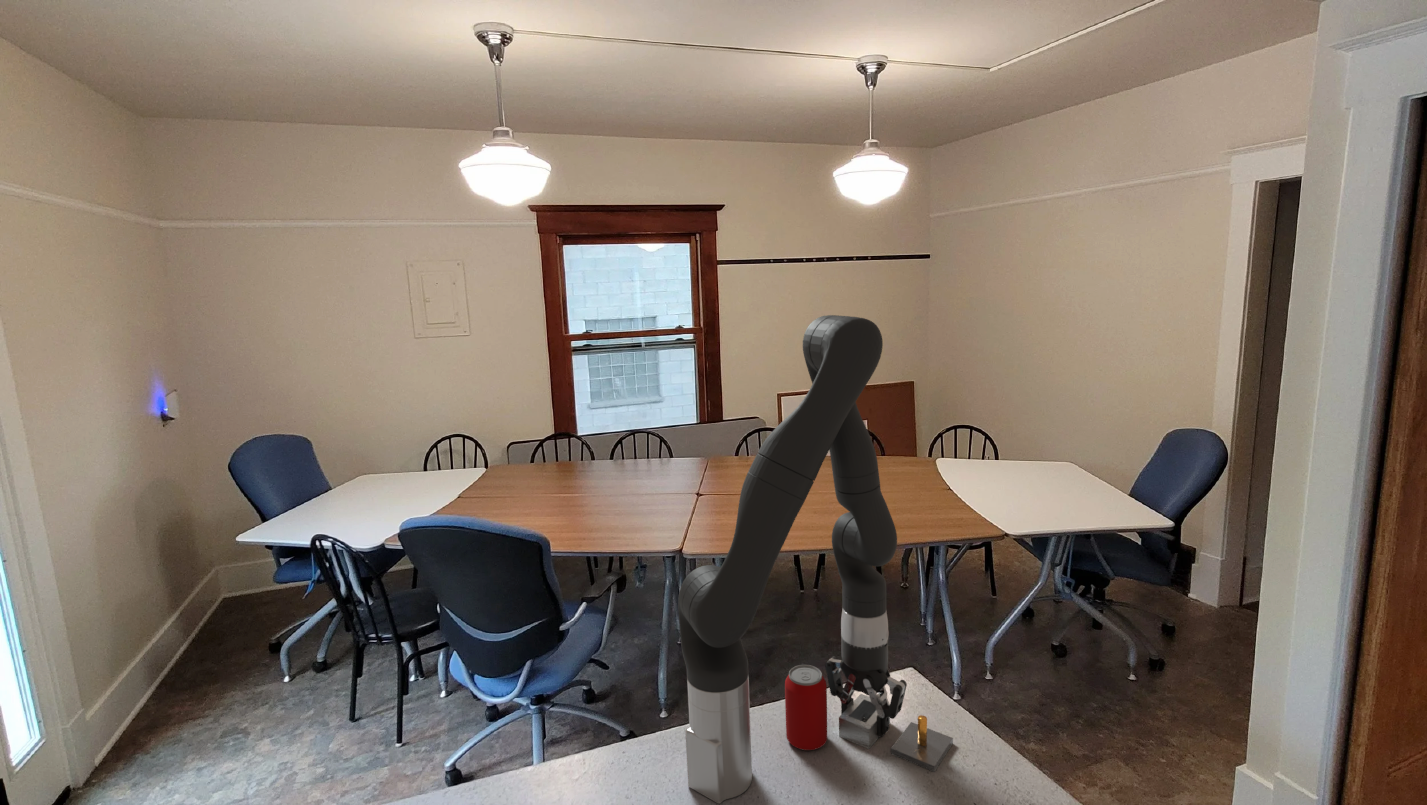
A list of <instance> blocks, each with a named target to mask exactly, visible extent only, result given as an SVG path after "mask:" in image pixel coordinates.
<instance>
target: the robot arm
mask: <svg viewBox="0 0 1427 805" xmlns="http://www.w3.org/2000/svg"><path fill="white" fill-rule="evenodd" d="M883 344H884V343H883V335H882V333H881V330H880V328H879V327H878V326H877V324H876V323H875V322H874V321H872V320H870V319H868V318H864V317H860V316H859V317H857V316H851V315H850V316H849V315H836V314H835V315H834V314H828V315H822V316H819V317H817V318H815V319H814V320H812V322H811V323H810V324H809V325H808V326H807V328H806V330H805V332H804V335H803V338H802V352H803V358H804V362H805V365H806V369H807V371H808V374H809V377H810V380H811V383H812V384H811V386H810V388H809V390H808V392H807V393H806V395H805V397H804V398H803V399H802V400H801V402H800V403H799V405H798V406H797V407H796V408H794V410H793V411H792V412H790V414H789V415H788V416H787V417H786V418H785V419H784V420H782V421H781V422H780V423H779V424H778V425H777V426H776V427H775V428H774V429H773V430H772V432H771V433H770V434H769V435H767V437H766V438H765V440H764V441H763V443H762V444H761V446H760V447H759V450H758V451H757V453H756V455H755V457H754V459H753V461H752V463H751V465H750V467H749V469H748V472H747V474H746V476H745V479H744V480H743V483H742V486H741V490H740V496H739V501H738V508H737V509H738V510H737V517H736V524H735V529H734V535H733V538H732V541H731V545H730V548H729V550H728V551H727V552H728V553H727V555H726V556H725V558H724V561H723V562H722V565H721V566H719V565H713V564H708V565H702V566H699V567H696V568H695V569H693V570H692V571H691V572H689V573H688V574H687V576H686V577H685V578H684V580H683V581H682V584H681V586H680V589H679V594H678V599H677V600H678V601H677V602H678V604H677V605H678V607H677V608H678V622H679V635H680V646H681V651H682V652H681V653H682V657H683V660H684V663H685V664H684V665H685V668H686V669H685V670H686V682H687V683H686V684H687V704H688V721H689V727H687V728H686V730H684V732H685V734H684V735H685V748H686V752H685V753H686V766H687V767H686V768H687V786H688V787H689V788H690V789H692V790H694V791H695V792H697V793H699V794H701V795H702V796H704V797H706V798H708V799H710V800H711V801H713V802H715V803H716V804H719V805H720V804H722V802H723V801H725V800H729V799H733V798H736V797H738V796H741V795H742V794H743V793H744V792H746V791H747V789H748V788H750V785H751V783H752V781H753V766H752V765H753V763H752V762H753V761H752V758H753V757H752V740H751V739H752V738H751V737H752V736H751V735H752V734H751V712H750V710H751V707H750V680H749V679H750V678H749V675H750V674H749V661H748V659H749V658H748V656H747V652H746V650H745V648H744V645H743V641H742V639H741V638H742V637H743V636H744V635H745V634H746V633H747V632H748V630H749V628H750V627H751V624H752V622H753V621H754V619H755V616H756V614H757V611H758V608H759V606H760V603H761V600H762V597H763V594H764V592H765V589H766V586H767V583H768V582H769V581H768V580H769V577H770V575H771V573H772V570H773V568H774V565H775V563H776V561H777V559H778V557H779V554H780V552H781V550H782V548H783V546H784V544H785V542H786V540H787V538H788V535H789V533H790V531H791V529H792V526H793V524H794V523H795V521H796V519H797V517H798V514H799V513H800V511H801V508H802V507H803V505H804V504H805V501H806V499H807V497H808V495H809V493H810V491H811V490H812V487H813V485H814V483H815V481H816V478H817V477H818V474H819V472H820V470H821V467H822V466H823V463H824V461H825V459H826V457H827V455H828V454H829V456H830V463H831V464H830V465H831V470H832V471H831V472H832V477H833V478H832V479H833V484H834V492H835V497H836V500H837V502H838V504H840V505H841V506H842V507H843V508H844V509H846V510H847V511H848V512H845V513H843V514H841V515H840V516H839V517H838V518H837V520H836V521H835V523H834V525H833V527H832V533H831V547H832V550H833V556H834V560H835V563H836V564H835V565H836V566H837V570H838V574H839V578H840V581H841V584H842V585H841V586H842V587H841V588H842V596H841V597H842V600H841V601H842V611H841V618H840V629H841V630H840V637H841V641H840V643H841V646H840V648H841V652H840V653H841V659H838V657H837V656H831V657H830V658H829V659H828V660H827V661H826V662H825V664H824V666H825V671H826V678H827V681H828V685H829V686H828V688H829V692H830V694H831V696H832V697H837V698H839V701H840V704H841V707H840V708H841V713H840V715H841V714H842V713H843V712H844V711H845V710H846V709H847V708H848V707H849V706H850V705H851V704H852V703H853V702H854V700H855V699H854V698H853V695H854V693H855V692H858V693H862V694H863V695H866V696H869V697H870V700H871V702H872V704H873V705H875V708H876V711H877V713H878V715H877V736H879V738H883V736H885V735H886V734H887V733H888V732H889V729H890V724H889V717H890V720H891V719H892V720H893V719H895V718H896V717H897V715H898V714H899V713H900V712H901V711H902V708H903V704H904V699H905V694H906V690H907V686H908V685H907V684H908V683H907V681H906V680H904V679H900V680H897V679H895V678H893V677H891V674H890V671H889V668H888V664H889V634H890V632H889V620H888V614H887V613H888V612H887V582H886V580H885V578H884V576H883V575H882V574H881V573H880V572H879V571H878V570H877V569H876V568H874V567H883V566H885V565H887V564H888V563H889V562H890V561H892V559H893V558H894V556H895V553H896V552H897V546H898V534H897V529H896V526H895V523H894V520H893V517H892V514H891V512H890V510H889V507H888V505H887V504H888V503H887V502H886V500H885V497H884V496H883V493H882V491H881V490H882V489H881V480H880V472H879V464H878V463H879V462H878V458H877V453H876V449H875V446H874V443H873V441H872V437H871V435H870V432H869V431H868V429H867V427H866V424H865V422H864V420H863V418H862V415H861V412H860V410H859V408H858V405H857V400H858V398H859V397H860V395H861V394H862V392H863V390H864V389H865V387H866V386H867V384H868V382H869V381H870V379H871V378H872V376H873V374H874V372H875V371H876V369H877V367H878V365H879V363H880V359H881V356H882V352H883V346H884V345H883ZM841 671H842V673H841ZM842 674H843V675H844V677H845V679H846V682H845V685H844V683H843V678H842ZM886 685H887V686H888V687H889V694H890V695H891V700H890V701H889V699H888V692H887V689H886Z"/></svg>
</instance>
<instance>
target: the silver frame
mask: <svg viewBox="0 0 1427 805" xmlns="http://www.w3.org/2000/svg"><path fill="white" fill-rule="evenodd" d="M877 715H878V713H877V711H876V708H875V705H873V704H872V702H871V700H870V697H869V696H868V695H866V694H864V693H860V694H859V695H858V696H857V697H856V698H855V699H854V702H853V703H852V704H851V705H850V706H849V707H848V708H847V709H846V710H845V711H844V712H843V713H842V714H841V713H840V715H839V716H838V737H840V738H842V739H845V740H847V741H849V742H851V743H854V744H856V745H858V746H861V747H863V748H866V749H867V750H870V748H872V746H873V745H874V744H875V742H876V741H877V740H878V739H879V738H880V737H879V736H877ZM864 719H866V721H865V722H864V721H863V720H864ZM890 723H891V718H890V717H889V725H890Z"/></svg>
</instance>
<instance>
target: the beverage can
mask: <svg viewBox="0 0 1427 805" xmlns="http://www.w3.org/2000/svg"><path fill="white" fill-rule="evenodd" d="M827 695H828V693H827V682H826V679H825V677H824V676H823V673H822V671H821V670H820V668H818V667H816V666H814V665H810V664H799V665H795V666H794V667H791V669H790V670H789V672H788V675H787V676H786V678H785V681H784V703H785V706H784V707H785V708H784V709H785V732H786V733H785V735H786V740H787V742H788V743H789V744H790V745H791V746H793V747H795V748H797V749H800V750H802V749H803V751H812V750H813V751H814V750H817V749H820V748H821V747H823V746H824V745H825V744H826V742H827V741H828V696H827Z"/></svg>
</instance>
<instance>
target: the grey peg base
mask: <svg viewBox="0 0 1427 805" xmlns="http://www.w3.org/2000/svg"><path fill="white" fill-rule="evenodd" d="M953 743H954V738H953V737H951V736H949V735H946V734H943V733H941V732H939V731H936V730H933V729H931V728H928V717H927V716H925V715H924V714H923V715H922V714H921V715H918V716H917V723H915V722H913V721H911V722H910V723H909V724H908V726H907V727H906V728H905V729H904V730H903V732H902V734H901V735H900V736H899V737H898V738H897V740H895V743H894V744H893V745H892V746H891V748H890V754H891V755H892V756H895V757H897V758H900V759H902V760H904V761H907V762H910V763H912V764H914V765H917V766H919V767H921V768H924V769H926V770H929V771H931V772H933V773H935V772H936V770H937V769H938V768H939V766H940V764H941V762H942V761H943V760H944V758H945V757H946V755H947V753H948V752H949V750H950V749H951V747H952V745H954V744H953Z"/></svg>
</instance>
